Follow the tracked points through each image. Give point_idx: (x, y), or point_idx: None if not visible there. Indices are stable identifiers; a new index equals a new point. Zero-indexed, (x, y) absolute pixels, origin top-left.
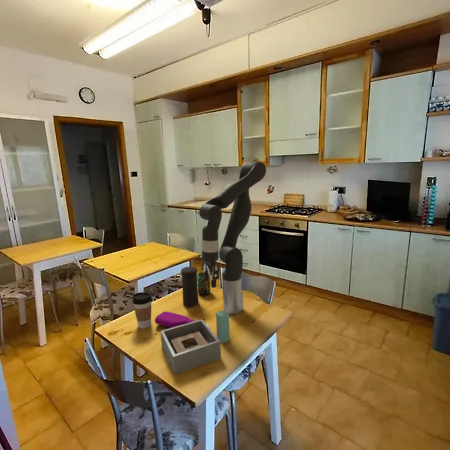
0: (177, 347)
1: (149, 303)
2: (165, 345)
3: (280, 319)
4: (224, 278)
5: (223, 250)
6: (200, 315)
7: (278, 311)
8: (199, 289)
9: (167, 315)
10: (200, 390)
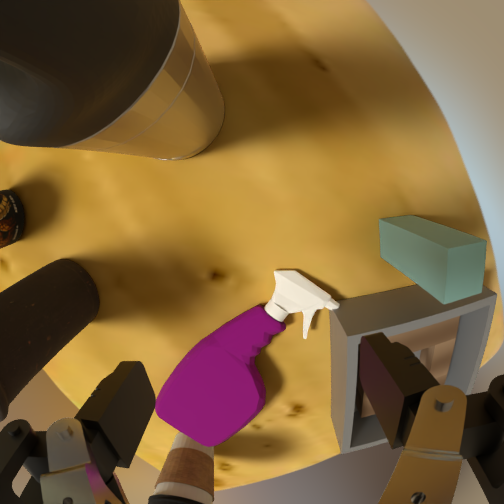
0: None
1: (196, 495)
2: None
3: None
4: (93, 126)
5: None
6: (176, 279)
7: None
8: (3, 245)
9: (193, 415)
10: (497, 335)
